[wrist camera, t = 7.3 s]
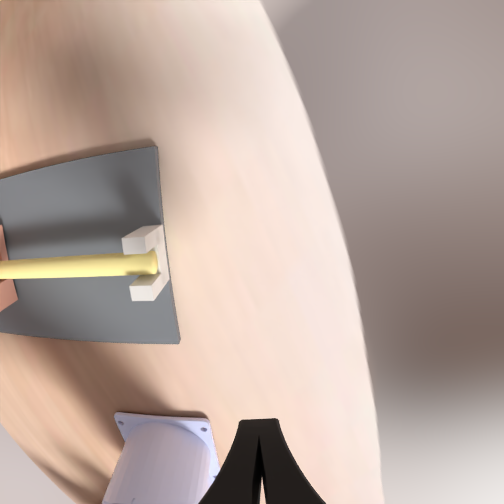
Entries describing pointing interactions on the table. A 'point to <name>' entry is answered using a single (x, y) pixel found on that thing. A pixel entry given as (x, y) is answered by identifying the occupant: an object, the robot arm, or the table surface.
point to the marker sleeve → (3, 290)
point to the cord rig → (89, 251)
